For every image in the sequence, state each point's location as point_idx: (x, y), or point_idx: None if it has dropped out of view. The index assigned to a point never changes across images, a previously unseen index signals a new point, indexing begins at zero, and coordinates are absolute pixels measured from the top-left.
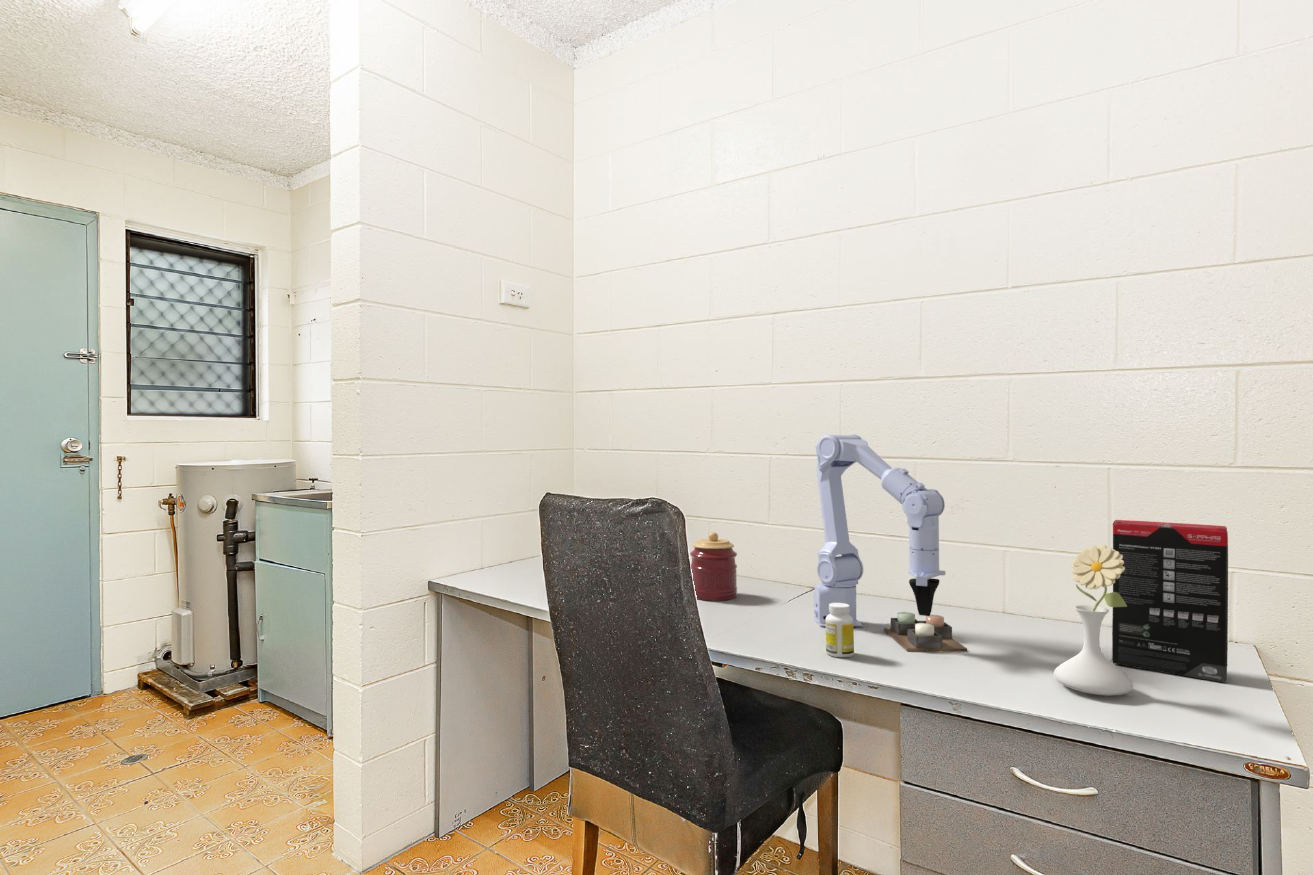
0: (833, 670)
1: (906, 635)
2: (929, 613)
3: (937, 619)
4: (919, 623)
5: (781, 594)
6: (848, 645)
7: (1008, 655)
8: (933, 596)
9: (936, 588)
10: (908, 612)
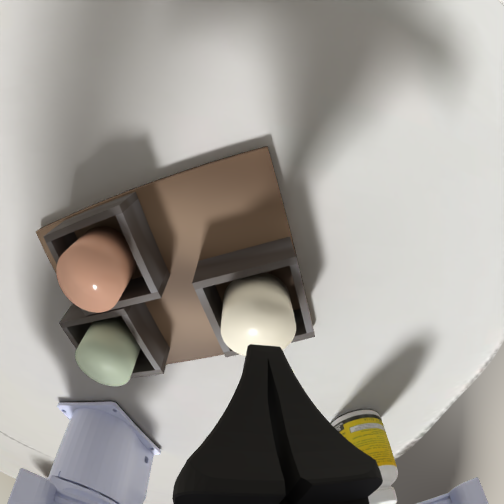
0: (437, 409)
1: (164, 330)
2: (282, 356)
3: (118, 274)
4: (230, 344)
5: (8, 444)
6: (383, 430)
7: (271, 11)
8: (327, 420)
9: (371, 457)
10: (76, 356)
